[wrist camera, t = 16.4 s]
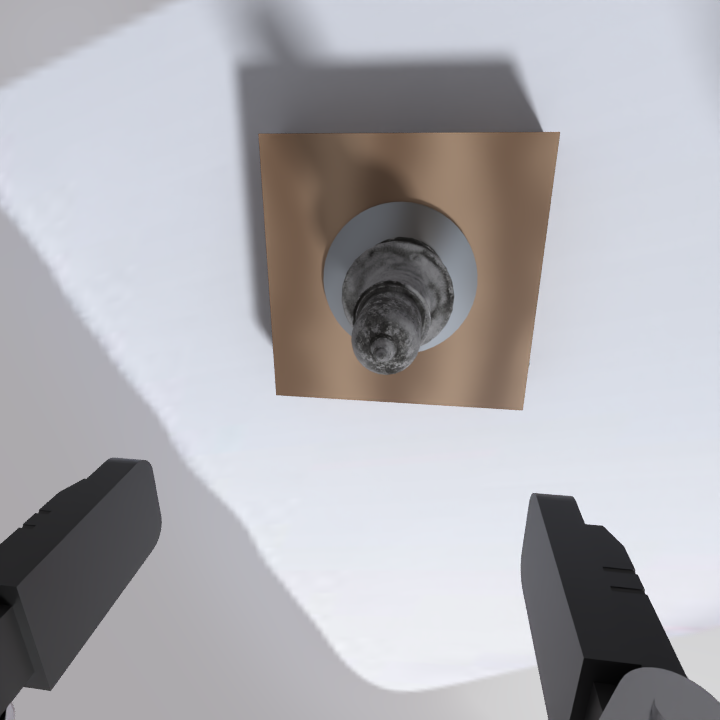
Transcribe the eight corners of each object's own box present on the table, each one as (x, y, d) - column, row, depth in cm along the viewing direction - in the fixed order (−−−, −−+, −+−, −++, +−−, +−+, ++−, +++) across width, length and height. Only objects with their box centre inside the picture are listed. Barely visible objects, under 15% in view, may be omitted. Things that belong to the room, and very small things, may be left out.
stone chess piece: (451, 228, 28) (462, 274, 17) (452, 329, 30) (462, 428, 19) (347, 234, 29) (293, 282, 18) (355, 331, 31) (311, 428, 20)
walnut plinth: (544, 134, 30) (561, 131, 26) (513, 384, 36) (523, 412, 32) (278, 136, 32) (256, 133, 28) (291, 371, 38) (275, 397, 34)
